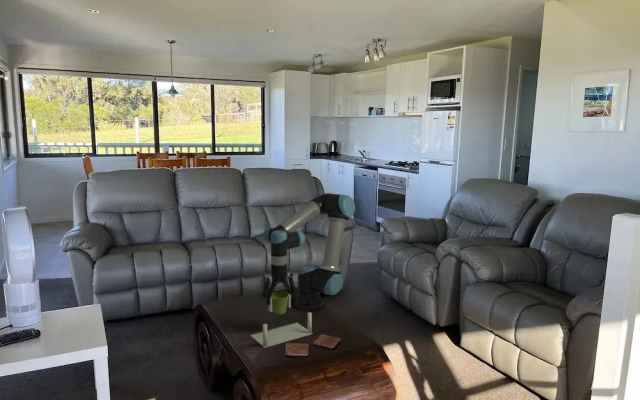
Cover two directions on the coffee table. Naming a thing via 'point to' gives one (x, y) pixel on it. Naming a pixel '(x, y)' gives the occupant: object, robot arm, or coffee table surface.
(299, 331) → the mat
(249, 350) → the coffee table surface
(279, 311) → the plant pot
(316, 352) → the coffee table surface
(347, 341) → the coffee table surface
